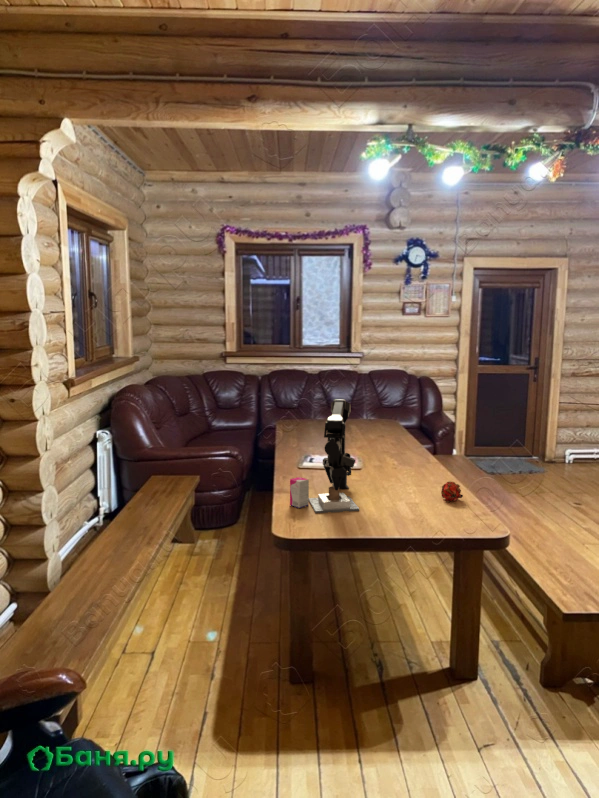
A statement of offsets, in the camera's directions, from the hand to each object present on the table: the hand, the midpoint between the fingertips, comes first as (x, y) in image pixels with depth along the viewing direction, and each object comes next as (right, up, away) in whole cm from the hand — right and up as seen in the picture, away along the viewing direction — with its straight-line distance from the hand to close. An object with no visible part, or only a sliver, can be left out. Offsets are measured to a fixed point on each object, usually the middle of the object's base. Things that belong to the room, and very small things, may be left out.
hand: (334, 486), depth 230 cm
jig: (0, -8, +3) cm, 9 cm away
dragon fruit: (+51, -8, +10) cm, 52 cm away
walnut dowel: (0, -8, +1) cm, 8 cm away
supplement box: (-14, -9, +3) cm, 17 cm away
